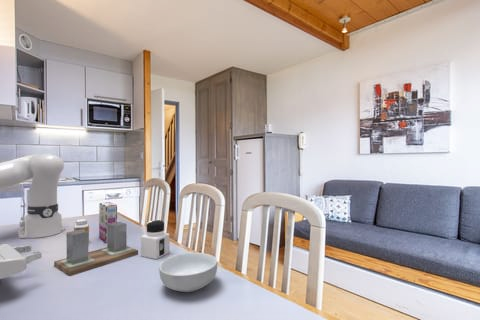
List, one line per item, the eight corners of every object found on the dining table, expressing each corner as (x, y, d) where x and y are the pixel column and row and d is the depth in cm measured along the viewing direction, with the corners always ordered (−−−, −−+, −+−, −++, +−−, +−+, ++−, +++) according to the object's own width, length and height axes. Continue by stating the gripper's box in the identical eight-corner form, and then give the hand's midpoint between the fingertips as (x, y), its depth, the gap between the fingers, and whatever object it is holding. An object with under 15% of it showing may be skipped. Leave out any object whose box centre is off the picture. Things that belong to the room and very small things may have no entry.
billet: (107, 249, 104) (107, 224, 104) (119, 246, 108) (119, 221, 108) (113, 252, 101) (113, 226, 101) (126, 249, 105) (126, 223, 105)
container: (169, 252, 106) (170, 220, 106) (156, 259, 99) (156, 224, 99) (154, 249, 109) (154, 218, 109) (140, 256, 102) (140, 222, 102)
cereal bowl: (186, 269, 91) (186, 248, 91) (227, 281, 83) (228, 258, 82) (146, 290, 76) (146, 266, 76) (191, 307, 68) (191, 280, 68)
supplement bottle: (74, 246, 113) (74, 222, 112) (73, 243, 117) (73, 219, 117) (89, 244, 116) (89, 220, 116) (88, 240, 120) (88, 218, 120)
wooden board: (54, 265, 93) (54, 260, 93) (120, 247, 112) (120, 242, 112) (69, 276, 85) (69, 270, 85) (138, 254, 104) (138, 249, 104)
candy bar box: (117, 241, 120) (117, 204, 120) (105, 243, 117) (105, 206, 117) (110, 235, 128) (110, 201, 128) (98, 237, 125) (98, 202, 125)
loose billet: (66, 261, 93) (66, 232, 92) (82, 256, 97) (82, 229, 96) (72, 264, 90) (72, 235, 89) (88, 260, 94) (88, 231, 93)
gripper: (-34, 267, 79) (25, 253, 90) (-19, 288, 66) (47, 269, 77) (-34, 245, 79) (25, 235, 90) (-19, 263, 66) (47, 248, 77)
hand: (35, 251), depth 83 cm, fingers open, 8 cm apart
